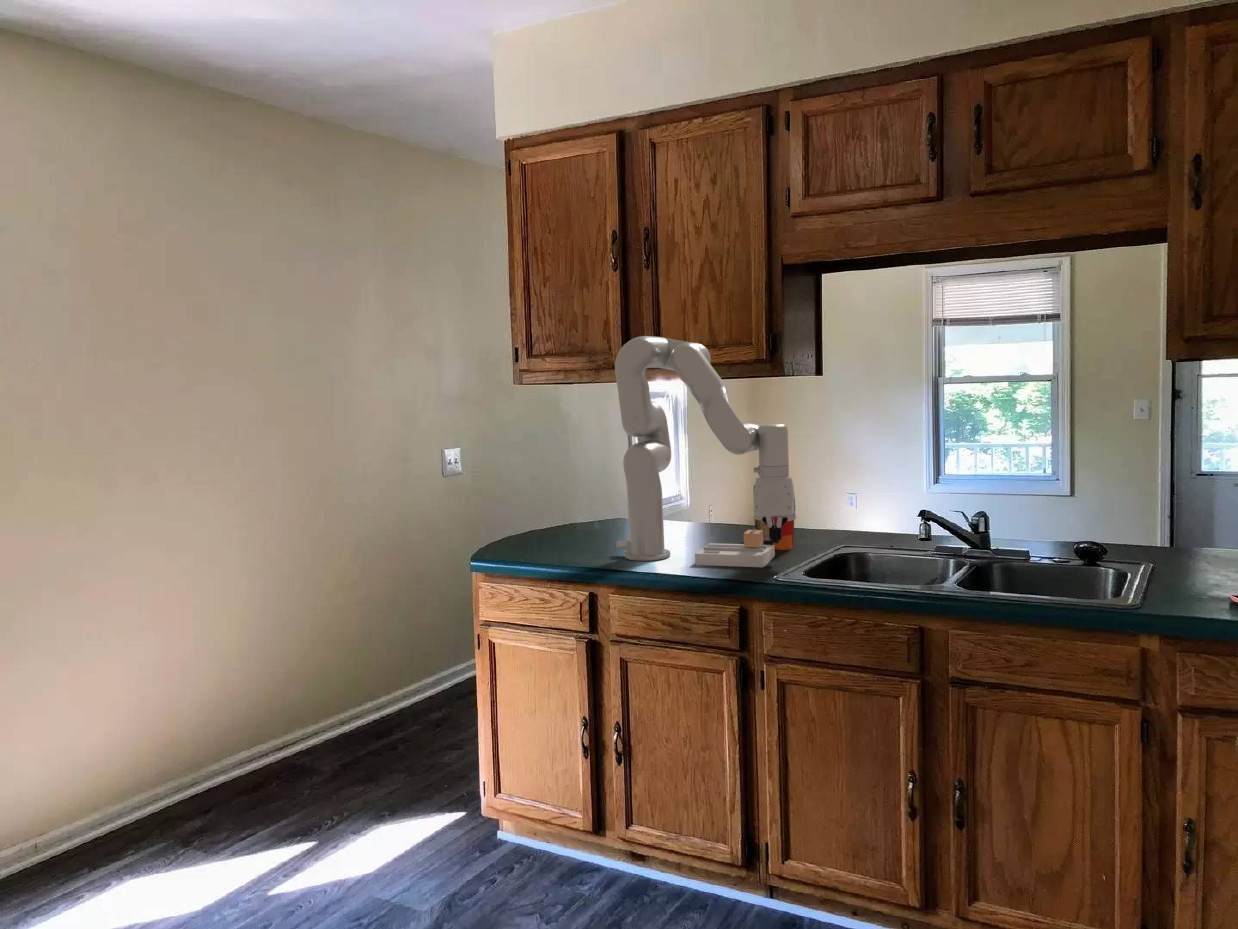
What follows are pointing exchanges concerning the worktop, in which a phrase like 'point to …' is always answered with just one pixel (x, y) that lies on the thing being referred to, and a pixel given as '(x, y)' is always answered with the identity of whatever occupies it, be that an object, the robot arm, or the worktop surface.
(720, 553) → the panel
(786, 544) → the paper cup
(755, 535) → the fader knob
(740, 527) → the worktop surface
